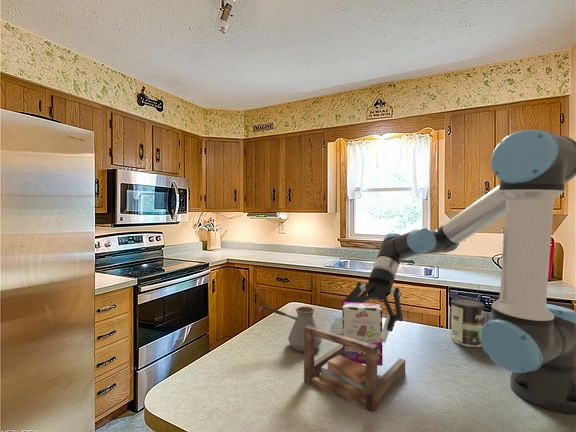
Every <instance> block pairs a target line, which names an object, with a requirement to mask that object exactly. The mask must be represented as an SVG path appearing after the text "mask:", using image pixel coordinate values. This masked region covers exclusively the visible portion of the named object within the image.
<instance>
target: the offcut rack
mask: <svg viewBox="0 0 576 432" xmlns="http://www.w3.org/2000/svg"><path fill="white" fill-rule="evenodd" d="M314 336H316V337H319V338H322V340H326V341H330V342H333V343H336V344H339V345H336V346H335V347H334V348H332V349H331V350H329V351H328V352H326V353H324V354H323V355H322V356H320V357H318V358H316V359H315V350H314ZM343 345H345V346H348V347H351V348H354V349H357V350H360V351H363V352H366V364H365V366H366V385H365V397H363V396H361V395H359V394H356V393H354V392H351V391H349V390H347V389H344V388H342V387H339V386H337V385H335V384H332V383H330V382H327V381H325V380H323V379H320V378H319V374H320V373H321V367H322V366H323V365H325V364H326V363H327V362H328V361H329V360H331V359H332V358H334V357H336V356H338V355H341V356H343ZM377 350H378V345H374V344H371V343H366V342H363V341H359V340H356V339H353V338H349V337H346V336H343V335H339V334H336V333H332V332H330V331H329V330H325V329H322V328H318V327H317V328H316V327H313V326H310V325H308V326H306V327H304V352H303V382H304V383H306V384H307V385H308V384H309V385H312V386H314V387H316V388H319V389H321V390H323V391H326V392H328V393H330V394H331V395H333V396H337V397H339V398H341V399H342V400H346V401H348V402H350V403H353V404H354V405H356V406H359V407H361V408H364V409H365V410H366V411H370V412H371V413H374V412H376V410H377V409H378V406H379V405H380V404H381V403H382V402H383V400H385V398H386V397H387V395H389V393H390V392H391V391H392V390H393V389H394V388H395V387H396V386H397V384H398V383H399V382H400V381H401V380H402V378H403V377H404V376H405V375H406V359H403V358H399V359H397V361H395V363H394V364H393V365H392V366H391V367H390V368H389V369H388V370H386V372H385V373H384V374H383V375H382V376H381V377H380V378H379V379H378V365H377Z"/></svg>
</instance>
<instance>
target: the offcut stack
mask: <svg viewBox="0 0 576 432" xmlns="http://www.w3.org/2000/svg"><path fill="white" fill-rule="evenodd" d="M318 378H320V379H323V380H325V381H327V382H330V383H332V384H335V385H337V386H339V387H342V388H344V389H347V390H349V391H351V392H354V393H356V394H359V395H361V396H363V397H365V385H366V364H360V363H358V362H355V361H353V360H350V359H348V358H346V357H343V356H341V355H338V356H336V357H334V358H332V359H331V360H329V361H328V362H327V363H326V364H325V365H323V366H322V367H321V373H320V374H319V377H318Z"/></svg>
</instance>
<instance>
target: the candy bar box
mask: <svg viewBox="0 0 576 432" xmlns="http://www.w3.org/2000/svg"><path fill="white" fill-rule="evenodd" d="M341 310H342V311H341V312H342V317H343V336H346V337H349V338H353V339H356V340H359V341H363V342H366V343H371V344H374V345H378V350H377V367H378V366H382V367H383V342H382V340H381V338H380V336H381V333H382V330H383V308H382V304H381V303H370V302H369V303H367V302H363V303H351V302H344V303H343V306H342V309H341ZM343 357H346V358H348V359H350V360H353V361H355V362H358V363H360V364H363V365H366V352H363V351H360V350H357V349H354V348H351V347H348V346H345V345H343Z"/></svg>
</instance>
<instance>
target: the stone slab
mask: <svg viewBox="0 0 576 432" xmlns="http://www.w3.org/2000/svg"><path fill="white" fill-rule="evenodd" d="M342 323H343V317H341V316H340V317H338V318H337V317H336V318H335V319H334V321H333V324H331V326H330V331H329V332H332V333H336V334H339V335H343V330H342V328H341V325H342Z"/></svg>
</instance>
